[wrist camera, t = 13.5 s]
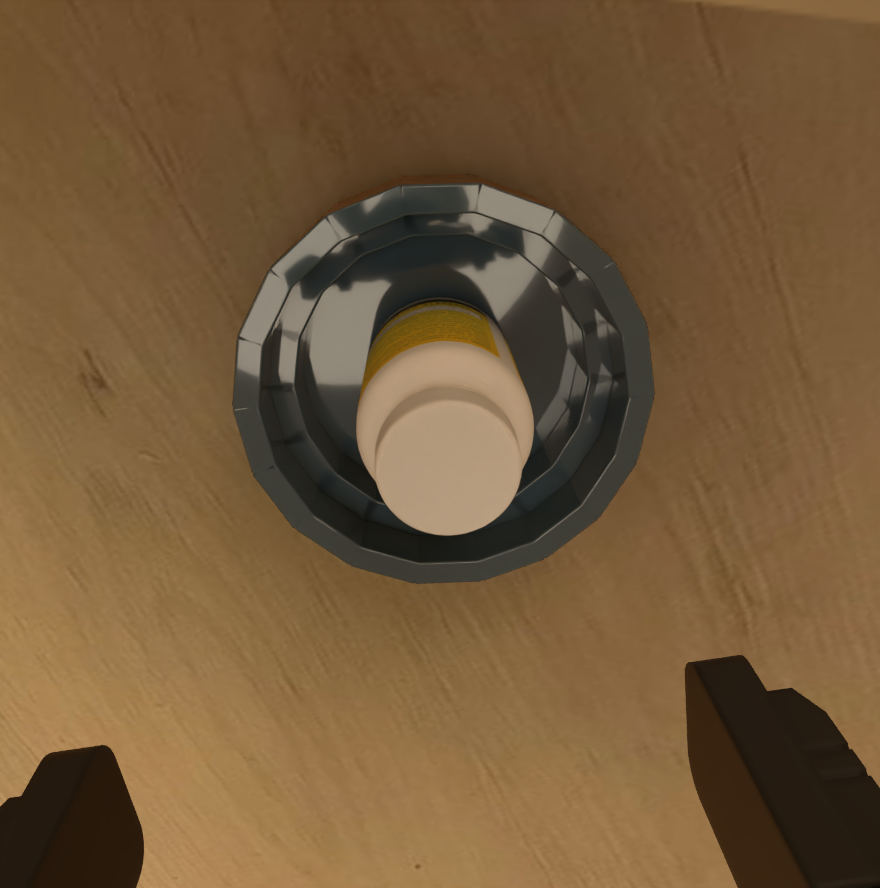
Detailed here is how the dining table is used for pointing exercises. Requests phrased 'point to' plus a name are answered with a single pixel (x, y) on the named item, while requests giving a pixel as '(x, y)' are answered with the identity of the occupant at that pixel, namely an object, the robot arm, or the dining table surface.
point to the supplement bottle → (443, 417)
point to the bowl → (525, 330)
